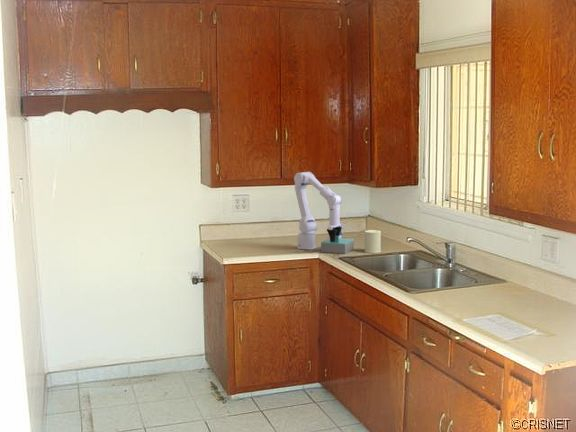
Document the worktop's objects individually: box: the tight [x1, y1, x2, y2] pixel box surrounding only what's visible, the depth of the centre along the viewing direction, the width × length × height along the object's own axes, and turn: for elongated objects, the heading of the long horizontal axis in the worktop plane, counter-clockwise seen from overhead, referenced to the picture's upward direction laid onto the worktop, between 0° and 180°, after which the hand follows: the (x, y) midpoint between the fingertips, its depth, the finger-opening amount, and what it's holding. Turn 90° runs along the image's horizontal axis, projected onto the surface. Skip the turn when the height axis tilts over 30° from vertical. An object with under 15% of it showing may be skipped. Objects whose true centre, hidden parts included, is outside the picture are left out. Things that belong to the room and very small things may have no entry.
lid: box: [320, 235, 349, 245], centre depth 388 cm, size 14×8×5 cm, turn 67°
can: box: [363, 229, 382, 254], centre depth 389 cm, size 9×9×12 cm
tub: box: [320, 237, 355, 255], centre depth 392 cm, size 14×16×6 cm
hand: (334, 240), depth 387 cm, fingers open, 6 cm apart
